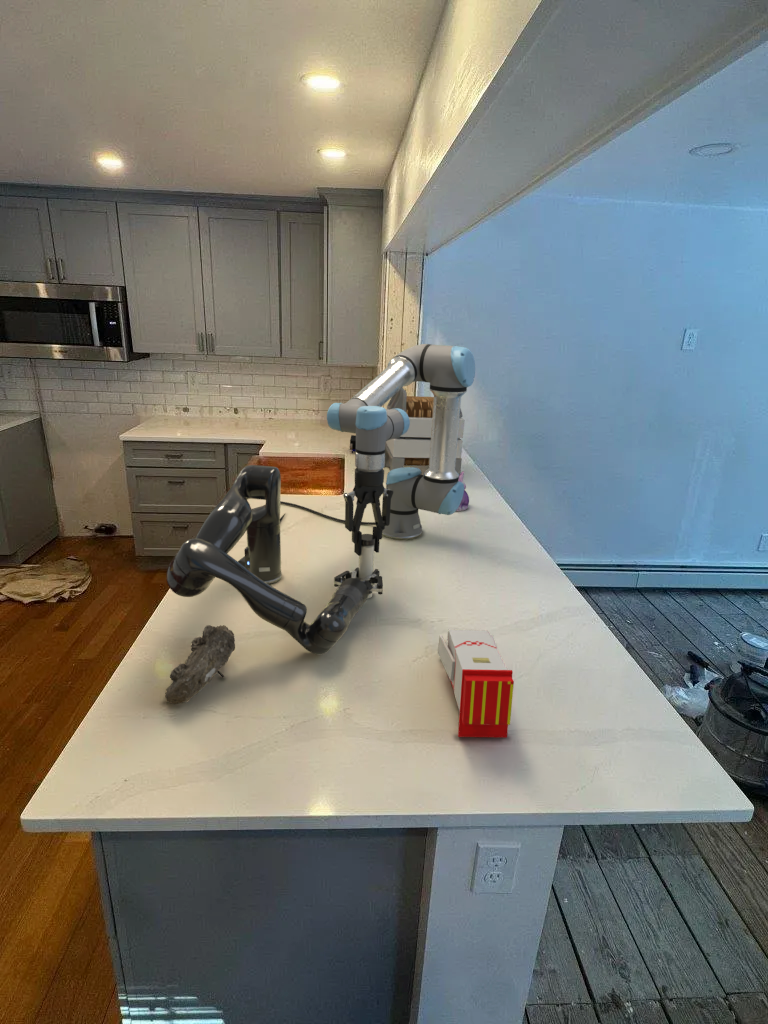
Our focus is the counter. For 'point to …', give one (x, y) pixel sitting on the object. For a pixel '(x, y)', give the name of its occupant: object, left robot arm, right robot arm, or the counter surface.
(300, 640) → the left robot arm
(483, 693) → the toy
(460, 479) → the figurine
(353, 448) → the figurine character
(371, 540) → the lid
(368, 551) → the bottle
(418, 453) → the white storage crate
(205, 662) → the fossil
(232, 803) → the counter surface
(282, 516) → the feather
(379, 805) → the counter surface
